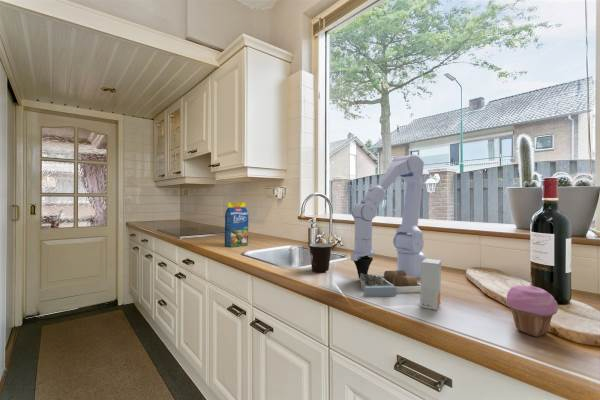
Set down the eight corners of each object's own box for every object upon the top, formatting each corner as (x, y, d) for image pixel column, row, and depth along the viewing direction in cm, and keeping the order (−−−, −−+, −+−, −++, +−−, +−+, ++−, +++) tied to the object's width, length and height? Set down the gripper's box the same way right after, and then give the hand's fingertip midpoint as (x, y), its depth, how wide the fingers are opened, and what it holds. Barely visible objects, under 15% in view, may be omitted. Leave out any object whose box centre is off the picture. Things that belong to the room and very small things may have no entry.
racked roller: (400, 278, 102) (402, 268, 101) (405, 285, 99) (407, 275, 97) (383, 278, 102) (385, 268, 100) (387, 285, 98) (389, 275, 97)
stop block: (393, 295, 88) (393, 285, 88) (396, 297, 86) (396, 287, 86) (363, 296, 87) (364, 286, 87) (365, 298, 85) (365, 287, 85)
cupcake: (542, 345, 59) (543, 294, 59) (497, 327, 67) (497, 282, 67) (565, 336, 63) (566, 289, 63) (520, 321, 71) (521, 278, 71)
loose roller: (395, 291, 93) (399, 285, 90) (391, 279, 95) (395, 273, 93) (413, 291, 93) (418, 284, 91) (409, 279, 96) (414, 273, 93)
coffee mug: (330, 274, 112) (330, 247, 112) (307, 272, 114) (307, 246, 113) (333, 267, 123) (333, 242, 123) (312, 266, 125) (312, 242, 125)
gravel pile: (385, 295, 89) (385, 281, 89) (359, 293, 90) (359, 279, 90) (383, 284, 99) (383, 272, 99) (360, 283, 101) (360, 270, 101)
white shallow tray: (404, 281, 103) (404, 275, 103) (425, 293, 90) (425, 286, 90) (377, 282, 102) (377, 275, 102) (394, 294, 89) (394, 287, 89)
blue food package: (224, 246, 172) (224, 202, 172) (241, 244, 181) (242, 202, 181) (230, 247, 168) (231, 202, 168) (248, 245, 177) (248, 202, 176)
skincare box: (437, 310, 77) (438, 264, 77) (419, 307, 79) (420, 261, 79) (440, 303, 82) (441, 259, 82) (424, 300, 84) (424, 258, 84)
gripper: (365, 242, 93) (364, 285, 94) (382, 237, 105) (381, 276, 105) (345, 239, 98) (344, 281, 98) (363, 235, 109) (362, 272, 110)
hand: (362, 278), depth 102 cm, fingers closed
